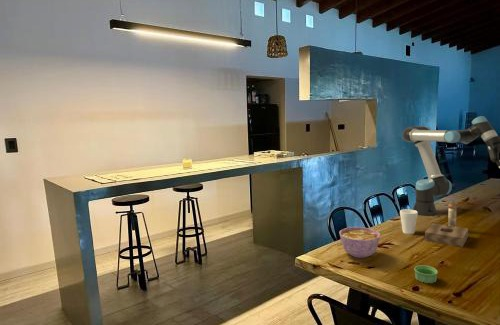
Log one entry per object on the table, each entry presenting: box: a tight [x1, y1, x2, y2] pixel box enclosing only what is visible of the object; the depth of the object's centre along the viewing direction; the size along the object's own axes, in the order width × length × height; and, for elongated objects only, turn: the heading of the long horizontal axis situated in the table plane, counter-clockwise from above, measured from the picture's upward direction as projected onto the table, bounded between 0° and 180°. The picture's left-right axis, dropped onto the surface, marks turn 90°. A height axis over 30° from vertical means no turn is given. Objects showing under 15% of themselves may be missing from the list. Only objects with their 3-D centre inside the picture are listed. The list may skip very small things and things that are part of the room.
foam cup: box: [399, 208, 418, 235], centre depth 198 cm, size 10×9×13 cm
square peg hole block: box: [424, 222, 469, 248], centre depth 186 cm, size 18×18×5 cm
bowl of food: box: [339, 226, 381, 259], centre depth 170 cm, size 20×20×12 cm
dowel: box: [447, 203, 458, 227], centre depth 197 cm, size 4×4×16 cm
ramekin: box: [414, 264, 439, 284], centre depth 142 cm, size 9×9×4 cm
